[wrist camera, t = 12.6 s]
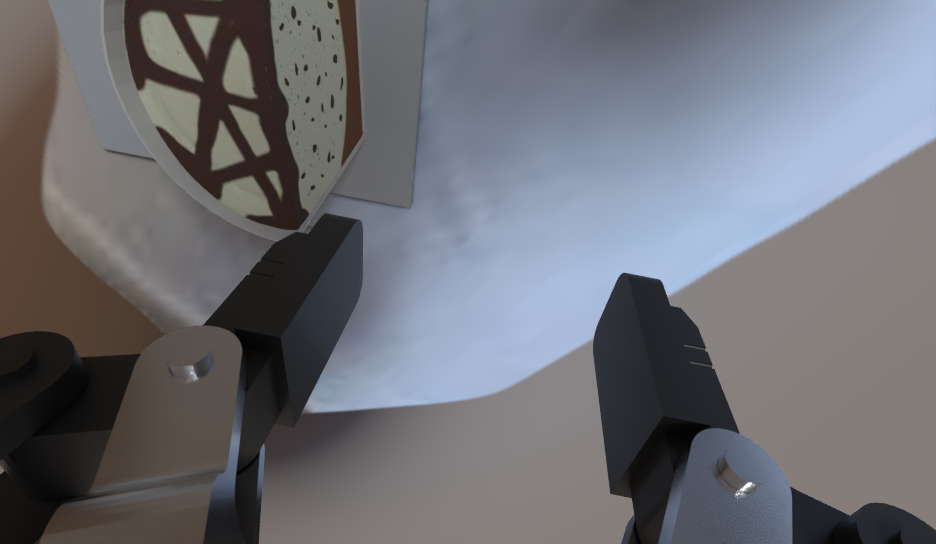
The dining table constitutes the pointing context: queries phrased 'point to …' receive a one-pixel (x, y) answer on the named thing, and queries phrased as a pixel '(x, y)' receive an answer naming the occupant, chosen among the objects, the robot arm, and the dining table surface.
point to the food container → (243, 100)
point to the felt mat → (385, 90)
